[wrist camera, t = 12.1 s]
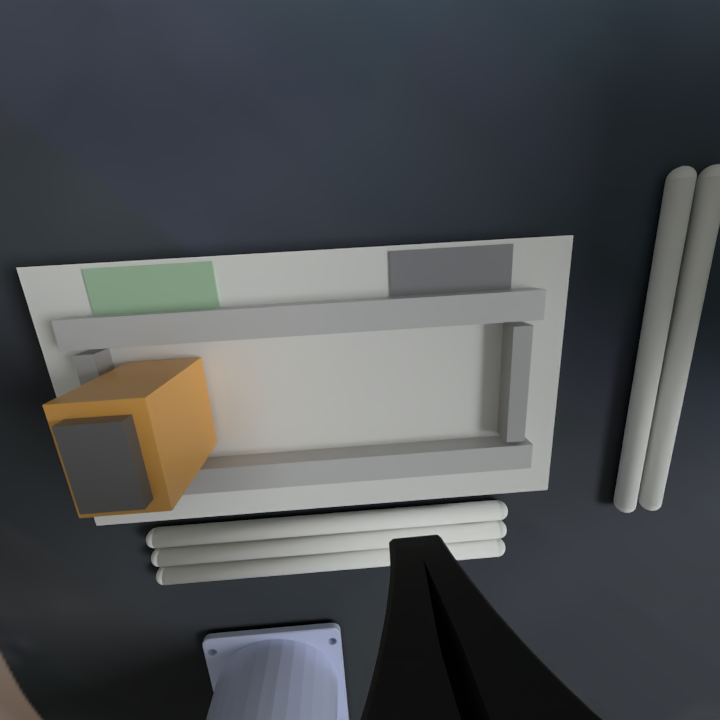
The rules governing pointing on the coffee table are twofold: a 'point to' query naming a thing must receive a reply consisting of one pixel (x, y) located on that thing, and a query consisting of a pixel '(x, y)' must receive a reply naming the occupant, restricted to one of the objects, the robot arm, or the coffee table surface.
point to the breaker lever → (134, 436)
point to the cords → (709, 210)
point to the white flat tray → (334, 365)
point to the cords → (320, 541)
